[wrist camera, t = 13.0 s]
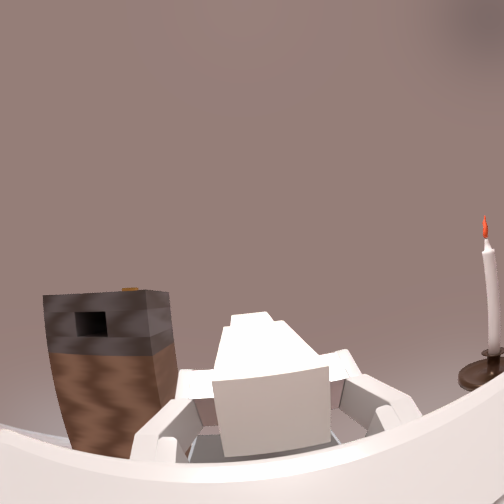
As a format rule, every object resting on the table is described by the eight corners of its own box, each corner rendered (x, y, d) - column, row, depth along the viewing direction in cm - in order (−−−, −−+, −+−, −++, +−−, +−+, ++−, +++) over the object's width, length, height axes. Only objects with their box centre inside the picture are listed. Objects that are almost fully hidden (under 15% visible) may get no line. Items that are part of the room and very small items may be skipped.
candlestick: (487, 429, 26) (486, 221, 32) (520, 452, 16) (528, 202, 21) (437, 451, 28) (434, 228, 33) (464, 484, 17) (473, 207, 23)
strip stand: (97, 506, 22) (42, 292, 26) (119, 475, 31) (82, 294, 36) (192, 520, 22) (145, 285, 27) (200, 482, 32) (168, 289, 37)
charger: (224, 457, 8) (211, 381, 8) (231, 344, 24) (227, 311, 24) (330, 441, 8) (329, 365, 8) (272, 339, 24) (269, 306, 24)
